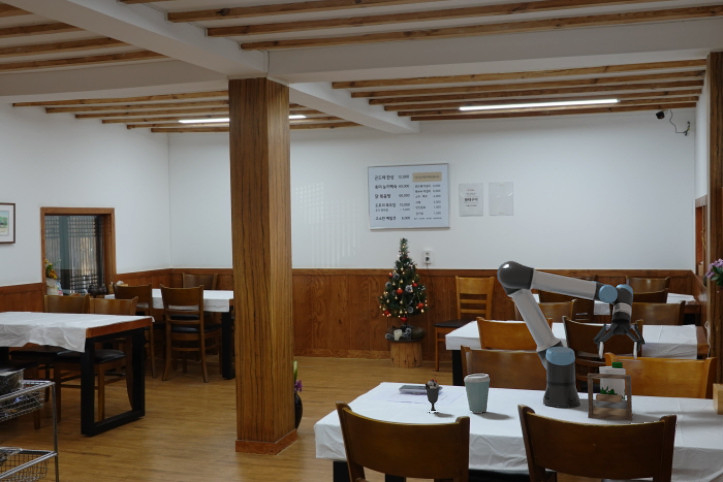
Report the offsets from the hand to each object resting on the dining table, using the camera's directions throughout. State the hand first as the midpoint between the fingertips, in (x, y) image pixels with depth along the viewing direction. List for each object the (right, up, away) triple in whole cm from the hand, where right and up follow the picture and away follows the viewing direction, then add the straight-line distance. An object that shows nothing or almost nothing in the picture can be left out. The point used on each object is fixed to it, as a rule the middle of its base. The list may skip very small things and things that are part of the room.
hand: (617, 356), depth 313 cm
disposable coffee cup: (-58, -22, -3) cm, 62 cm away
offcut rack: (-9, -21, -18) cm, 29 cm away
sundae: (-76, -23, -1) cm, 79 cm away
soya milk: (-5, -21, -10) cm, 24 cm away
